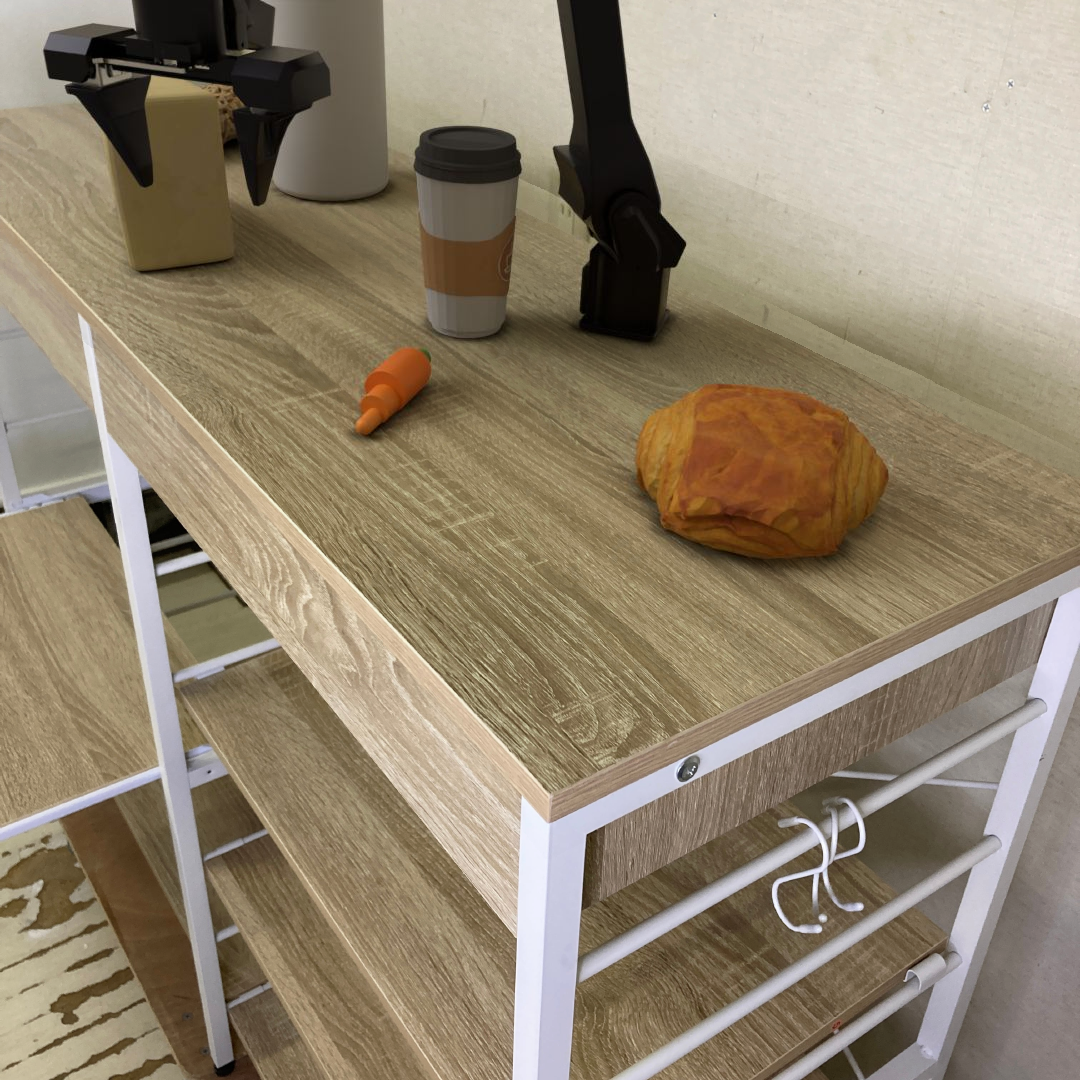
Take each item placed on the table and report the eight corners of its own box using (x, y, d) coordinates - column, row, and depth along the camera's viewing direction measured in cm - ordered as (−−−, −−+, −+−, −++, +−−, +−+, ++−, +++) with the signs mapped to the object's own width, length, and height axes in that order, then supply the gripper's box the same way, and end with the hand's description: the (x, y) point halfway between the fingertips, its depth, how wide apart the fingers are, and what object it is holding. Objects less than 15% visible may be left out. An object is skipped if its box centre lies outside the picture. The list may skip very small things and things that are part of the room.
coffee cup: (503, 350, 87) (509, 157, 78) (403, 337, 88) (398, 145, 80) (526, 311, 94) (533, 129, 85) (432, 299, 95) (430, 119, 86)
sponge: (259, 131, 143) (108, 116, 130) (270, 70, 139) (115, 48, 125) (309, 174, 136) (155, 163, 123) (322, 112, 132) (165, 93, 119)
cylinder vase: (269, 202, 115) (244, -68, 101) (278, 169, 125) (256, -81, 111) (389, 203, 116) (381, -63, 102) (388, 170, 127) (380, -76, 113)
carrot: (382, 441, 74) (377, 397, 72) (340, 434, 75) (334, 391, 73) (443, 379, 82) (441, 339, 80) (405, 374, 83) (401, 334, 81)
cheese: (80, 203, 112) (51, 44, 103) (177, 193, 116) (156, 40, 108) (129, 276, 96) (98, 96, 88) (238, 261, 100) (219, 88, 92)
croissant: (667, 458, 78) (665, 351, 74) (894, 482, 72) (905, 367, 68) (597, 557, 67) (591, 437, 63) (860, 595, 61) (871, 466, 57)
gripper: (363, -52, 73) (372, 184, 82) (126, -75, 78) (158, 151, 86) (276, -35, 64) (297, 227, 73) (14, -62, 69) (63, 188, 77)
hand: (202, 195), depth 78 cm, fingers open, 9 cm apart
